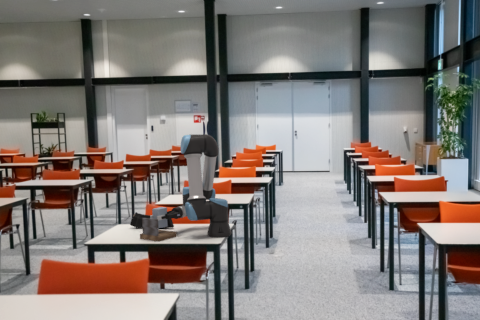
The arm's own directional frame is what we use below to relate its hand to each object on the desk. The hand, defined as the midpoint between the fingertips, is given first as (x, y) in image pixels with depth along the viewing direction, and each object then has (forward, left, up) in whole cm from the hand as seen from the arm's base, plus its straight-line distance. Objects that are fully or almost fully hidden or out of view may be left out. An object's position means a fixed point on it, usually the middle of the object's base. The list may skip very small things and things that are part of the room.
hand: (154, 218), depth 324 cm
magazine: (+25, -23, -13) cm, 37 cm away
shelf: (0, -3, -13) cm, 13 cm away
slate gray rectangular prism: (0, -5, -6) cm, 8 cm away
